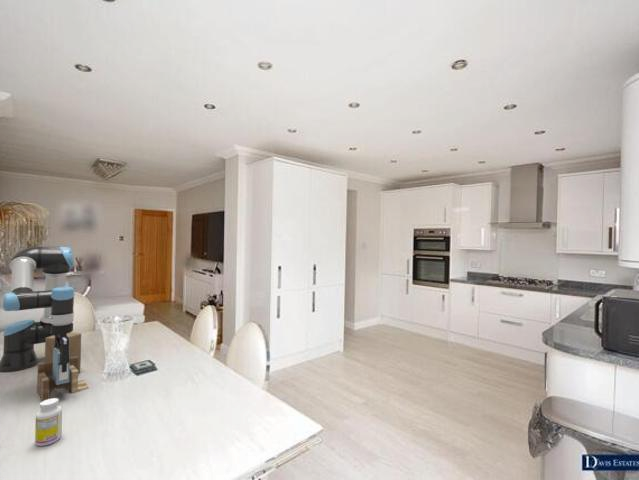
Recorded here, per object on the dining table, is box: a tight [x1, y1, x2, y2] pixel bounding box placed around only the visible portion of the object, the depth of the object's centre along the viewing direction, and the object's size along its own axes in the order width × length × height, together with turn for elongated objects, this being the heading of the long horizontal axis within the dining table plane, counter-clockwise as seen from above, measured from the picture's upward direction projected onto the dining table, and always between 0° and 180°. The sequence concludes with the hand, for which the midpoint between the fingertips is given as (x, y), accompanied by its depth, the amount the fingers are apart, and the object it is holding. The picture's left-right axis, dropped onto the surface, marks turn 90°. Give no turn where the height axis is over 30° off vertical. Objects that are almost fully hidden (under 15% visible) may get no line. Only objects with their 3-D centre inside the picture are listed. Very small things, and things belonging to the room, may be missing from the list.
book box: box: [52, 348, 70, 385], centre depth 134 cm, size 10×4×13 cm, turn 49°
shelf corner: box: [36, 356, 78, 402], centre depth 137 cm, size 15×14×12 cm
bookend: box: [66, 365, 90, 394], centre depth 142 cm, size 10×6×9 cm, turn 49°
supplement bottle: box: [34, 397, 63, 447], centre depth 104 cm, size 7×7×13 cm
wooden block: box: [44, 332, 82, 375], centre depth 154 cm, size 10×10×20 cm
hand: (60, 375), depth 134 cm, fingers closed on book box, 10 cm apart
